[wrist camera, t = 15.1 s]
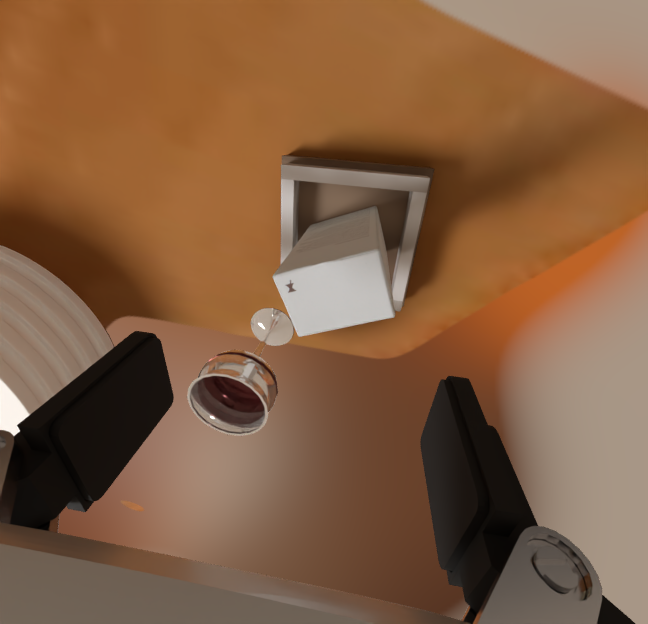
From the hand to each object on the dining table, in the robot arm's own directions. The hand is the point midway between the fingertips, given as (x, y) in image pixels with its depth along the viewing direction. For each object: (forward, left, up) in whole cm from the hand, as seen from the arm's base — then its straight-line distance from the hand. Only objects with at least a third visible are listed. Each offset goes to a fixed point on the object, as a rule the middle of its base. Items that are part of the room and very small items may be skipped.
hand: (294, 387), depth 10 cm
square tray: (0, 0, -21) cm, 21 cm away
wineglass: (+12, -7, -21) cm, 25 cm away
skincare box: (0, 0, -20) cm, 20 cm away
